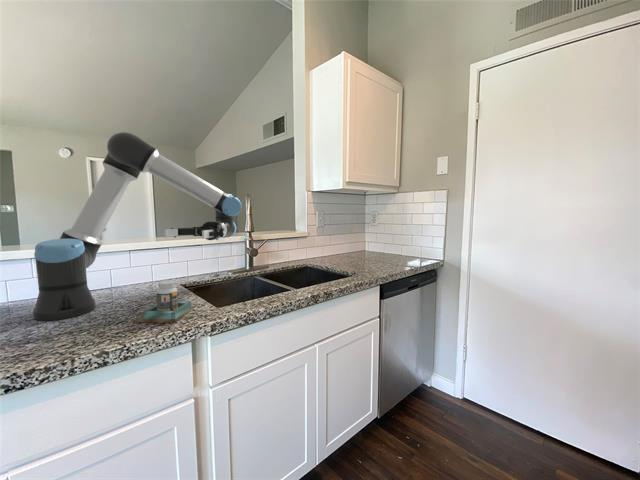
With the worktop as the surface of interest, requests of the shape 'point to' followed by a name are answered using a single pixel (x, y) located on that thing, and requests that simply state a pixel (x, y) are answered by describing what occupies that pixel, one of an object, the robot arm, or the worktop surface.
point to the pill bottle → (167, 296)
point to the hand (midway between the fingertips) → (184, 234)
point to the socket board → (165, 314)
